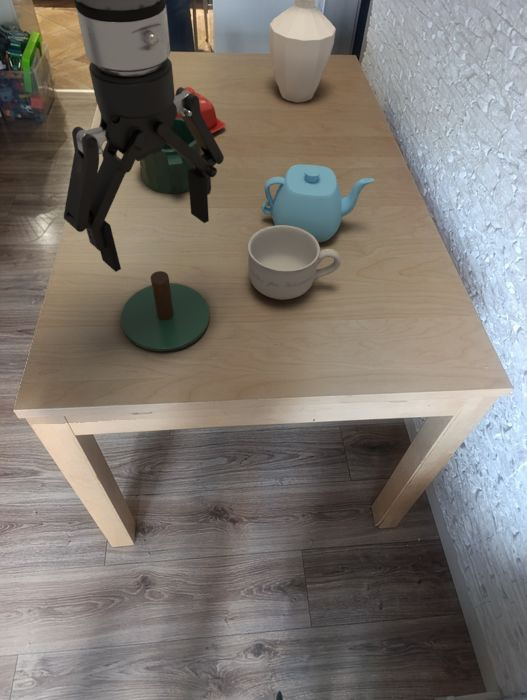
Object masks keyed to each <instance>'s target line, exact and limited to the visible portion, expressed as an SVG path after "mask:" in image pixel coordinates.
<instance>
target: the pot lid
mask: <svg viewBox="0 0 527 700" xmlns="http://www.w3.org/2000/svg"><path fill="white" fill-rule="evenodd" d="M150 283H151V285H149V286H146V287H144V288H142V289H140V290H138V291H137V292H134V294H132V295H131V296H130V297H129V298H128V299H127V301H126V302H125V303H124V305H123V307H122V309H121V313H120V323H121V328H122V331H123V332H124V334H125V336H126V337H127V338H128V339H129V340H130V341H131V342H132V343H133V344H134V345H136V346H138V347H140V348H143V349H145V350H149V351H154V352H170V351H176V350H179V349H182V348H185V347H188V346H189V345H191V344H193V343H194V342H196V341H197V340H198V339H199V338H201V336H202V335H203V334H204V333H205V332H206V330H207V328H208V325H209V322H210V307H209V305H208V302H207V301H206V299H205V298H204V297H203V295H202V294H201V293H200V292H198V291H197V290H196V289H194V288H192V287H190V286H188V285H184V284H181V283H173V282H170V276H169V274H168V273H167V272H166V271H162V270H157V271H155V272H153V273H152V274H151V275H150Z"/></svg>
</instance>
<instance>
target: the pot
mask: <svg viewBox="0 0 527 700" xmlns="http://www.w3.org/2000/svg"><path fill="white" fill-rule="evenodd" d="M171 130H172V131H173V132H174V133H175V134H176V135H178V136H179V137H180V138H181V139H182V140H183V141H184V142H185V143H186V144H187V145H189V146H190V147H191V148H192V149H193V150H194V151H195V152H197V153H198V154H199V155H200V156H201V155H202V154H203V152H202V151H201V149H200V147H199V145H198V144H197V142H196V140H195V139H194V137H193V135H192V134H191V132H190V130H189V128H188V127H187V125H186V123H185V122H184V120H183V118H177V117H176V119H175V121H174V124H173V126H172V129H171ZM139 166H140V173H141V179H142V182H143V183H144V184H145V186H147V188H149V189H151V190H153V191H155V192H158V193H162V194H170V195H171V194H175V195H176V194H183V193H187V192H189V182H188V169H190V168H192V167H193V168H194V169H195V166H194V165H192V164H191V163H190V162H189V161H187V160H186V159H185V158H184V157H182V156H181V155H180V154H179V153H177V152H176V151H175V150H174V149H173V148H171V147H170V146H169V145H168V144H166V143H165V145H164V146H163V147H162V151H161V152H158V153H156V154H150V155H148V156H147V157H146V158H144V159H143V160H140V161H139Z"/></svg>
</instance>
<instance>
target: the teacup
mask: <svg viewBox="0 0 527 700" xmlns="http://www.w3.org/2000/svg"><path fill="white" fill-rule="evenodd" d="M247 253H248V254H247V255H248V256H247V257H248V258H247V263H248V264H247V265H248V267H247V268H248V276H249V279H250V282H251V285H253V288H254V289H256V290H257V291H258V292H259V293H260V294H262V295H263V296H266V297H269V298H271V299H274V300H290V299H295V298H298V297H301V296H302V295H304V294H305V293H306V292H308V291H309V289H310V288H311V287H312V285H313V284H314V281H317V280H318V279H319V278H322V277H324V276H327V275H330V274H332V273H334V272H336V271H337V270H338V269H339V267H340V265H341V263H342V261H341V256H340V253H339V252H338V251H337V250H336V249H333V248H324V249H322V250H321V247H320V244H319V242H317V240H316V239H315V237H314V236H313V235H311V234H310V233H308V232H307V231H305V230H302V229H300V228H297V227H293V226H287V225H277V226H275V225H270V226H267V227H264V228H262V229H259V230H257V231H256V232H255V233H254V234H253V235H252V236H251V237H250V238H249V240H248V244H247ZM326 258H331V259H333V262H332V263H331V264H329V265H327V266H325V267H321V268H318V266H319V265H320V264H321V262H322V261H323V260H324V259H326Z"/></svg>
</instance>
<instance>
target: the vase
mask: <svg viewBox="0 0 527 700" xmlns="http://www.w3.org/2000/svg"><path fill="white" fill-rule="evenodd" d="M316 3H317V0H294V4H292V5H291V6H289V7H288V8H287V9H285V10H284V11H283V12H281V13H280V14H278V15H276V16H275V17H274V18H273V19H272V20H271V22H270V23H269V29H268V30H269V31H268V45H269V53H270V54H269V55H270V59H271V64H272V69H273V74H274V79H275V83H276V84H277V87H278V90H279V93H280V96H281V98H283V99H284V100H286V101H289V102H293V103H296V104H297V103H305V102H307V101H310V100H312V99H313V97H314V95H315V94H316V92H317V89H318V87H319V84H320V82H321V80H322V77H323V74H324V72H325V70H326V67H327V65H328V62H329V60H330V57H331V56H332V55H331V54H332V50H333V48H334V43H335V36H336V30H337V28H336V27H335V26H334V25H333V23H332V22H331V21H330V20H329V18H328V17H326V16H325V14H324V13H323V12H322V11H321V10H320V9H319V8H318V7H317V6H316Z"/></svg>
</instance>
